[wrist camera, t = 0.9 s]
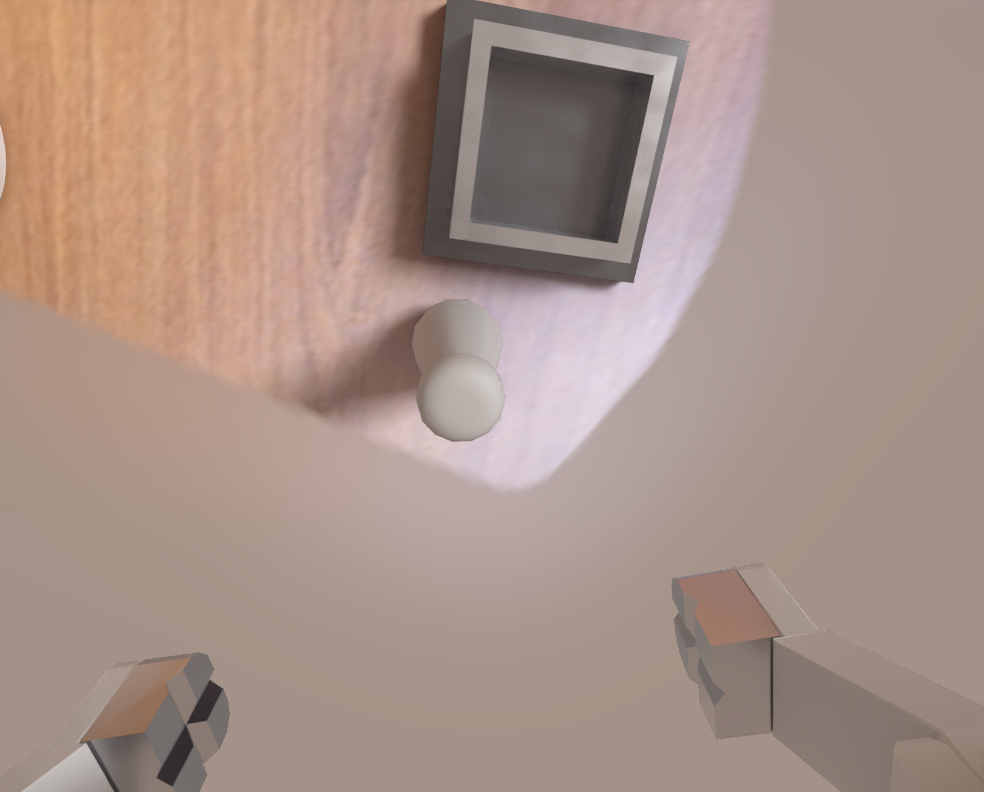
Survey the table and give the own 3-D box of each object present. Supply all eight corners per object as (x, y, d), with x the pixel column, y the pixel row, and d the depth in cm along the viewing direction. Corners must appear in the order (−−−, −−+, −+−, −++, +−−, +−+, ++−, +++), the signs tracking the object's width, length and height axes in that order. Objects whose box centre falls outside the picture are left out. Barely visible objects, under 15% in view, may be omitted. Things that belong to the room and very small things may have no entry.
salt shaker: (464, 389, 40) (471, 484, 28) (397, 342, 38) (373, 420, 26) (516, 325, 38) (547, 396, 26) (449, 273, 37) (449, 323, 25)
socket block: (423, 251, 36) (420, 261, 32) (447, 2, 31) (447, -24, 27) (626, 278, 38) (648, 292, 34) (679, 46, 33) (712, 28, 29)
